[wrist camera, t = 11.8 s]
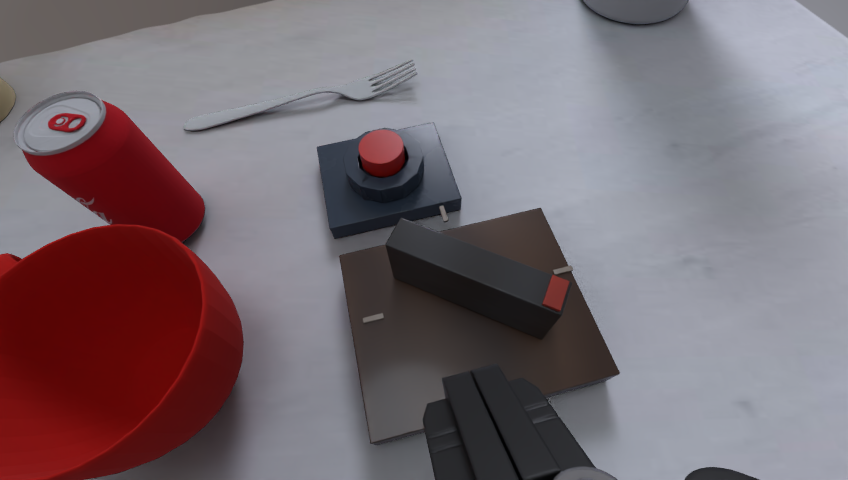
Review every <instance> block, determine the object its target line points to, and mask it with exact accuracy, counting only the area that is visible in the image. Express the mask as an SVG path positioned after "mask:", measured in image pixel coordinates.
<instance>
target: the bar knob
mask: <svg viewBox="0 0 848 480" xmlns="http://www.w3.org/2000/svg"><path fill="white" fill-rule="evenodd" d="M386 249H387V253H388V257H389V261H390V265H391V269H392V273H393V277H394V278H396V279H398V280H401V281H403V282H405V283H408V284H410V285H412V286H415V287H417V288H420V289H422V290H424V291H427V292H429V293H432V294H434V295H436V296H439V297H441V298H443V299H446V300H448V301H451V302H453V303H455V304H458V305H460V306H463V307H465V308H467V309H470V310H472V311H474V312H477V313H479V314H482V315H484V316H486V317H489V318H491V319H494V320H496V321H498V322H501V323H503V324H505V325H508V326H510V327H513V328H515V329H517V330H520V331H522V332H525V333H527V334H529V335H532V336H534V337H536V338H539V339H543V338H544V337H545V336H546V334H547V333H548V332H549V331H550V329H551V328H552V327H553V326H554V325H555V323H556V322H557V321H558V320H559V318H560V317H561V316H562V315H563V311H564V308H565V305H566V302H567V298H568V295H569V292H570V289H571V285H572V282H570V281H568V280H565V279H562V278H560V277H557V276H554V275H551V274H549V273H546V272H543V271H541V270H538V269H536V268H533V267H530V266H528V265H525V264H522V263H520V262H517V261H514V260H512V259H509V258H506V257H504V256H501V255H499V254H496V253H493V252H491V251H488V250H485V249H483V248H480V247H477V246H475V245H472V244H469V243H467V242H464V241H462V240H459V239H456V238H454V237H451V236H448V235H446V234H443V233H440V232H438V231H435V230H432V229H430V228H427V227H424V226H422V225H419V224H417V223H414V222H411V221H409V220H406V219H403V218H400V220H399V222H398V223H397V225H396V227H395V229H394V230H393V232H392V234H391V236H390V237H389V239H388V241H387V243H386Z"/></svg>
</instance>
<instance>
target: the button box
mask: <svg viewBox="0 0 848 480" xmlns="http://www.w3.org/2000/svg"><path fill="white" fill-rule="evenodd" d="M378 130H390V131H393V132H395V133H396V134H398V135H399V136H400V137H401V139H402V141H403V145H404V154H405V163H404V165H403V167H402V169H401V170H400V171H399V172H397V173H396V174H394V175H392V176H389V177H375V176H372V175H370V174H369V173H367V172H366V171H365V169H364V168H363V165H362V162H361V158H360V154H359V143H360V141H361V140H362V138H363V137H364V136H365V135H367V134H368V133H370V132H373V131H376V130H373V131H368V132H365V133H364V134H362V135H361V136H359V137H358V138H357V139H352V140H347V141H342V142H338V143H333V144H328V145H324V146H319V147H317V152H318V158H319V164H320V171H321V177H322V183H323V189H324V196H325V202H326V208H327V215H328V221H329V227H330V230H331V232H332V234H333V237H334V238H335V239H336V238H340V237H345V236H349V235H353V234H357V233H362V232H366V231H370V230H375V229H379V228H383V227H387V226H392V225H396V224H397V223H398V222H399V220H400V218H403V219H406V220H409V221H413V220H417V219H422V218H426V217H430V216H435V215H439V214H441V212H440V209H439V207H440V206H444V209H445V212H446V213H447V212H452V211H456V210H460V209H461V196H460V193H459V190H458V187H457V185H456V182H455V179H454V177H453V174H452V171H451V168H450V166H449V163H448V160H447V157H446V155H445V152H444V149H443V146H442V144H441V141H440V138H439V135H438V133H437V130H436V127H435V125H434V122H432V123H427V124H423V125H418V126H413V127H409V128H404V129H399V130H394V129H389V128H383V129H378Z"/></svg>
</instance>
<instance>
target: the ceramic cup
mask: <svg viewBox="0 0 848 480" xmlns="http://www.w3.org/2000/svg"><path fill="white" fill-rule="evenodd" d="M243 343H244V341H243V333H242V326H241V321H240V318H239V316H238V313H237V310H236V308H235V305H234V303H233V301H232V299H231V297H230V296H229V294H228V293H227V291H226V290H225V288H224V287H223V285H222V284H221V283H220V281H219V280H218V278H217V277H216V276H215V275H214V273H213V272H212V271H211V270H210V269H209V268H208V266H207V265H206V264H205V263H204V262H203V261H202V260H201V259H200V258H199V257H198V256H197V255H196V254H195V253H193V252H192V251H191V250H190V249H189V248H188V247H186V246H185V245H184V244H183V243H182V242H180V241H179V240H178V239H177V238H175V237H173V236H171V235H168V234H166V233H164V232H162V231H160V230H158V229H154V228H149V227H145V226H140V225H121V224H115V225H107V226H100V227H93V228H90V229H86V230H83V231H80V232H76V233H73V234H70V235H67V236H65V237H63V238H61V239H58V240H56V241H54V242H51V243H49V244H47V245H45V246H43V247H42V248H40V249H38V250H37V251H35V252H33V253H32V254H30V255H28V256H26V257H25V258H23V259H21V258H19V257H17V256H15V255H12V254H8V253H6V254H1V255H0V480H84V479H91V478H97V477H102V476H107V475H111V474H116V473H119V472H123V471H126V470H128V469H131V468H134V467H137V466H139V465H142V464H144V463H147V462H150V461H152V460H155V459H157V458H159V457H161V456H163V455H165V454H166V453H168V452H170V451H171V450H173V449H175V448H177V447H178V446H180V445H182V444H183V443H185V442H186V441H188V440H189V439H190V438H191V437H192V436H194V435H195V434H196V433H197V432H199V431H200V430H201V429H202V428H203V427H205V426H206V425H207V424H208V422H209V421H210V420H211V419H212V418H213V417H214V416H215V415H216V414H217V412H218V411H219V410H220V409H221V407H222V406H223V404H224V403H225V401H226V399H227V398H228V396H229V395H230V393H231V391H232V389H233V386H234V384H235V382H236V380H237V378H238V374H239V370H240V367H241V363H242V357H243Z"/></svg>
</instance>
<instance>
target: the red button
mask: <svg viewBox="0 0 848 480" xmlns="http://www.w3.org/2000/svg"><path fill="white" fill-rule="evenodd" d="M359 154H360V158H361V162H362V165H363V168H364V169H365V171H366V172H367V173H369V174H370V175H372V176H375V177H389V176H392V175H394V174H396V173H397V172H399V171H400V170H401V169H402V167H403V165H404V163H405V154H404V145H403V141H402V139H401V137H400V136H399V135H398V134H396V133H395V132H393V131H390V130H376V131H373V132H370V133H368V134H367V135H365V136H364V137H363V138H362V140H361V141H360V143H359Z"/></svg>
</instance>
